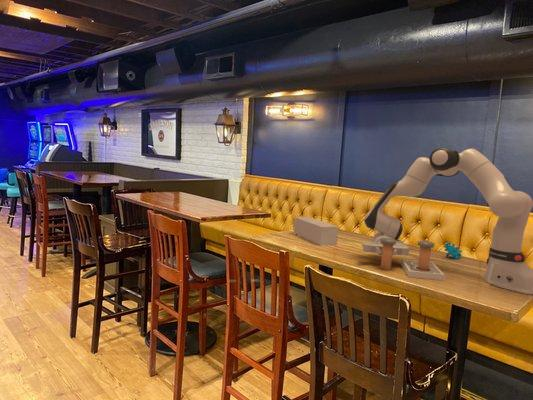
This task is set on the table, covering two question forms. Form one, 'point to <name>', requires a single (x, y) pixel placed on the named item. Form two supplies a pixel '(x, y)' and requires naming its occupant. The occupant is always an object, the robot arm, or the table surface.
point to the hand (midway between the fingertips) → (387, 252)
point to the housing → (414, 272)
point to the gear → (453, 251)
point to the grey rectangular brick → (316, 230)
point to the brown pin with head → (387, 253)
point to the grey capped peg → (424, 254)
